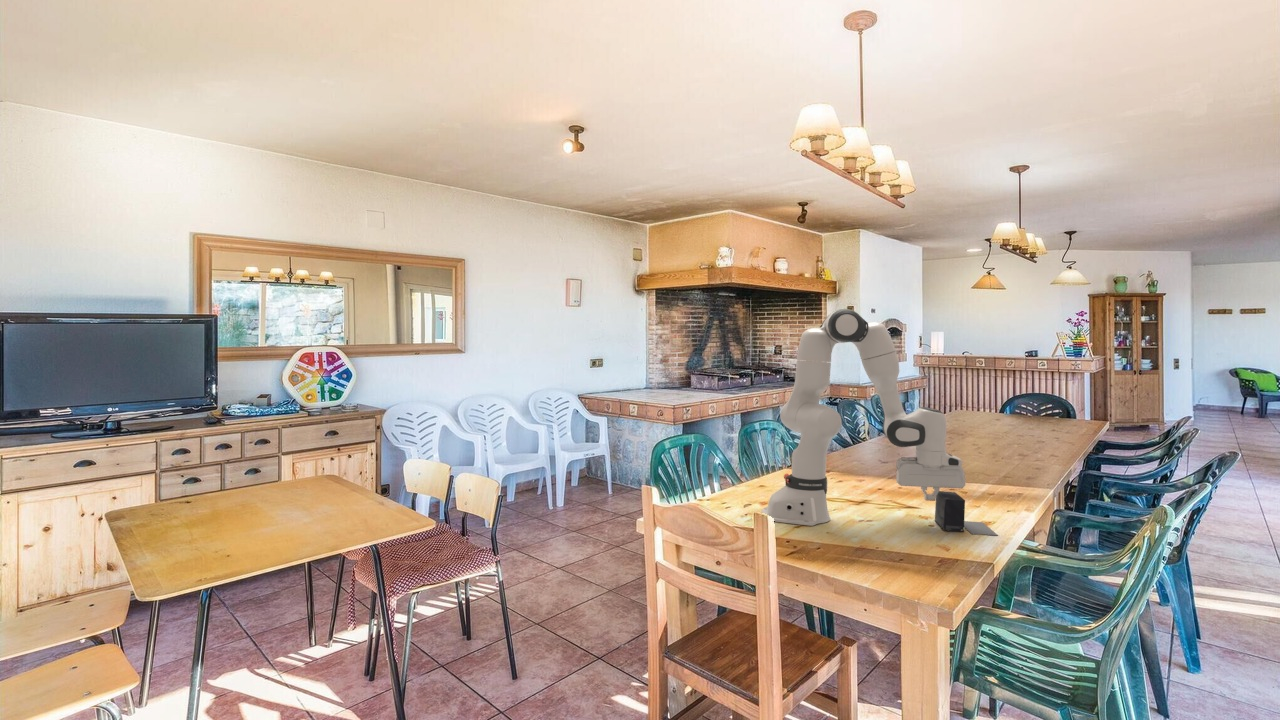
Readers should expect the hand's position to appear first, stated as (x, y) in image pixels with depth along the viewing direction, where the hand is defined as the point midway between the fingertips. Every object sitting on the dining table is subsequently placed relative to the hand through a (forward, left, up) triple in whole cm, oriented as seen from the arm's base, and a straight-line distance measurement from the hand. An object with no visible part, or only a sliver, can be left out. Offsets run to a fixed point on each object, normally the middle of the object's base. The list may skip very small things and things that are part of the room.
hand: (929, 500), depth 197 cm
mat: (+14, 0, -8) cm, 16 cm away
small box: (+6, 0, -9) cm, 10 cm away
